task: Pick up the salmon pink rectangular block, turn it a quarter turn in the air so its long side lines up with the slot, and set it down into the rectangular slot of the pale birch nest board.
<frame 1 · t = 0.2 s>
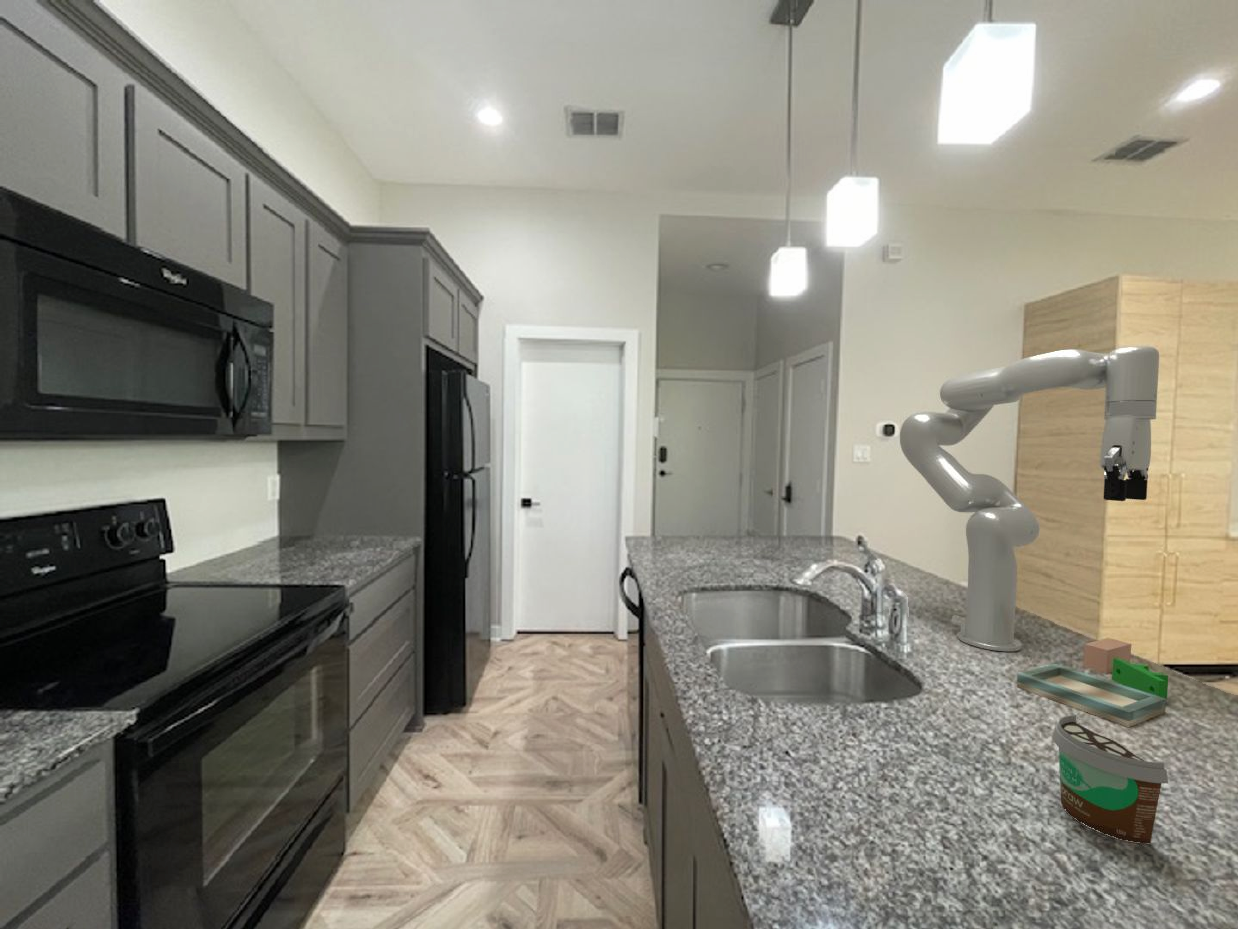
hand: (1125, 499, 111), 36 cm above the worktop, tool pointing down, fingers open, 9 cm apart
food container: (1088, 819, 69), on the worktop
nest board: (1087, 699, 104), on the worktop
pipe clamp: (1144, 694, 108), on the worktop
salmon pink rectangular block: (1106, 667, 120), on the worktop
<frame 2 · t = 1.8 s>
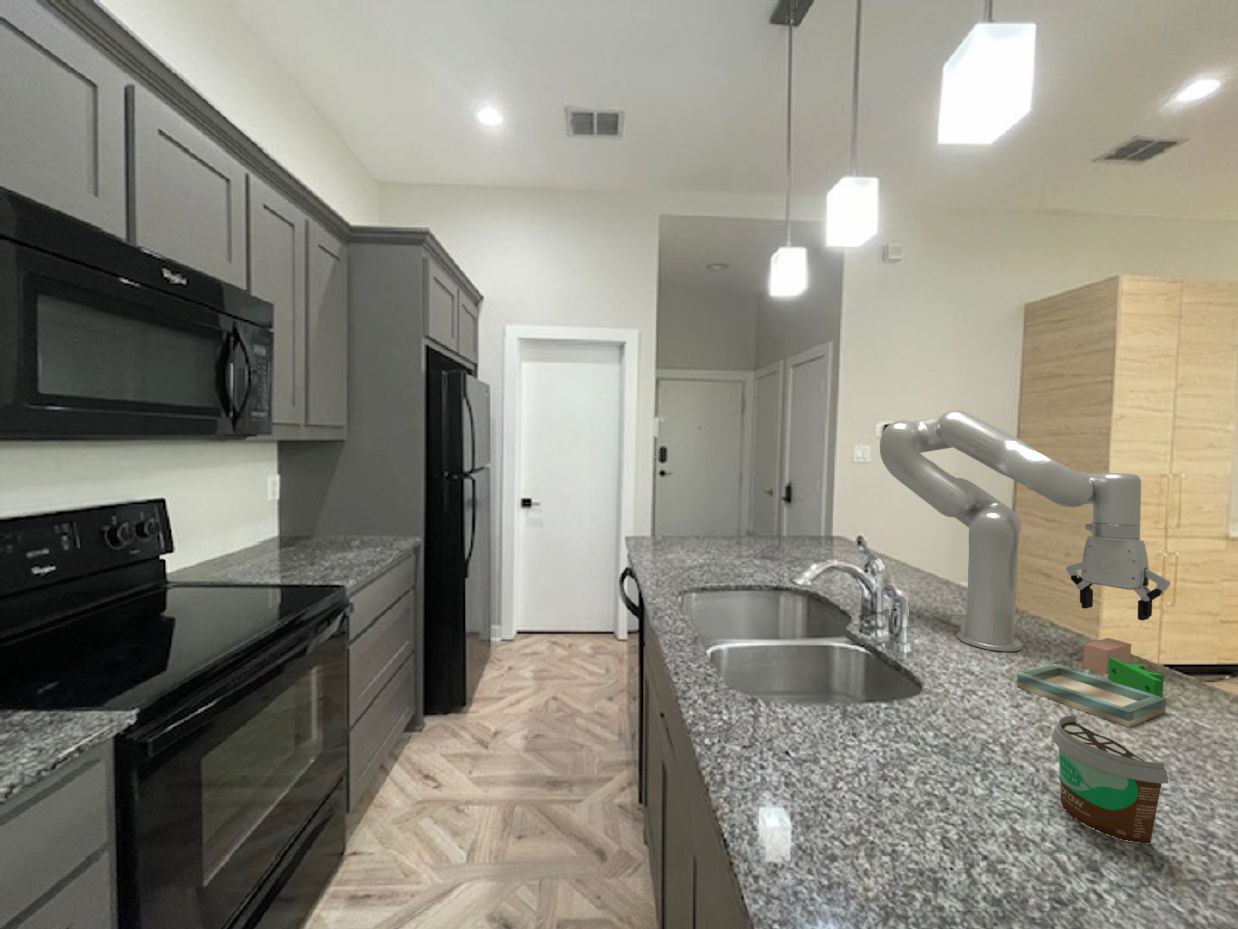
hand: (1114, 613, 120), 11 cm above the worktop, tool pointing down, fingers open, 9 cm apart
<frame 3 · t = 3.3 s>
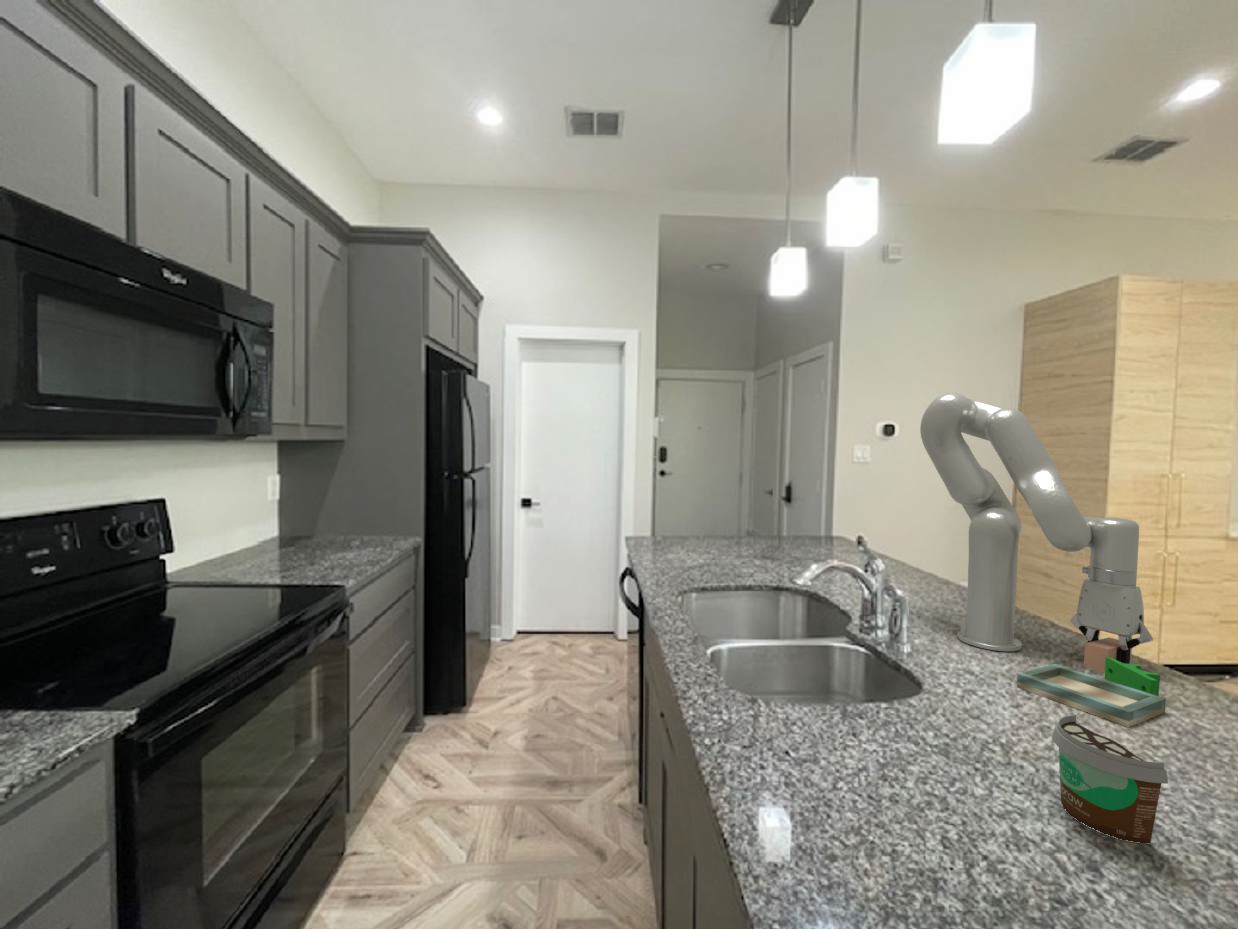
hand: (1107, 662, 120), 1 cm above the worktop, tool pointing down, fingers closed on salmon pink rectangular block, 4 cm apart
salmon pink rectangular block: (1107, 666, 120), on the worktop, touching gripper
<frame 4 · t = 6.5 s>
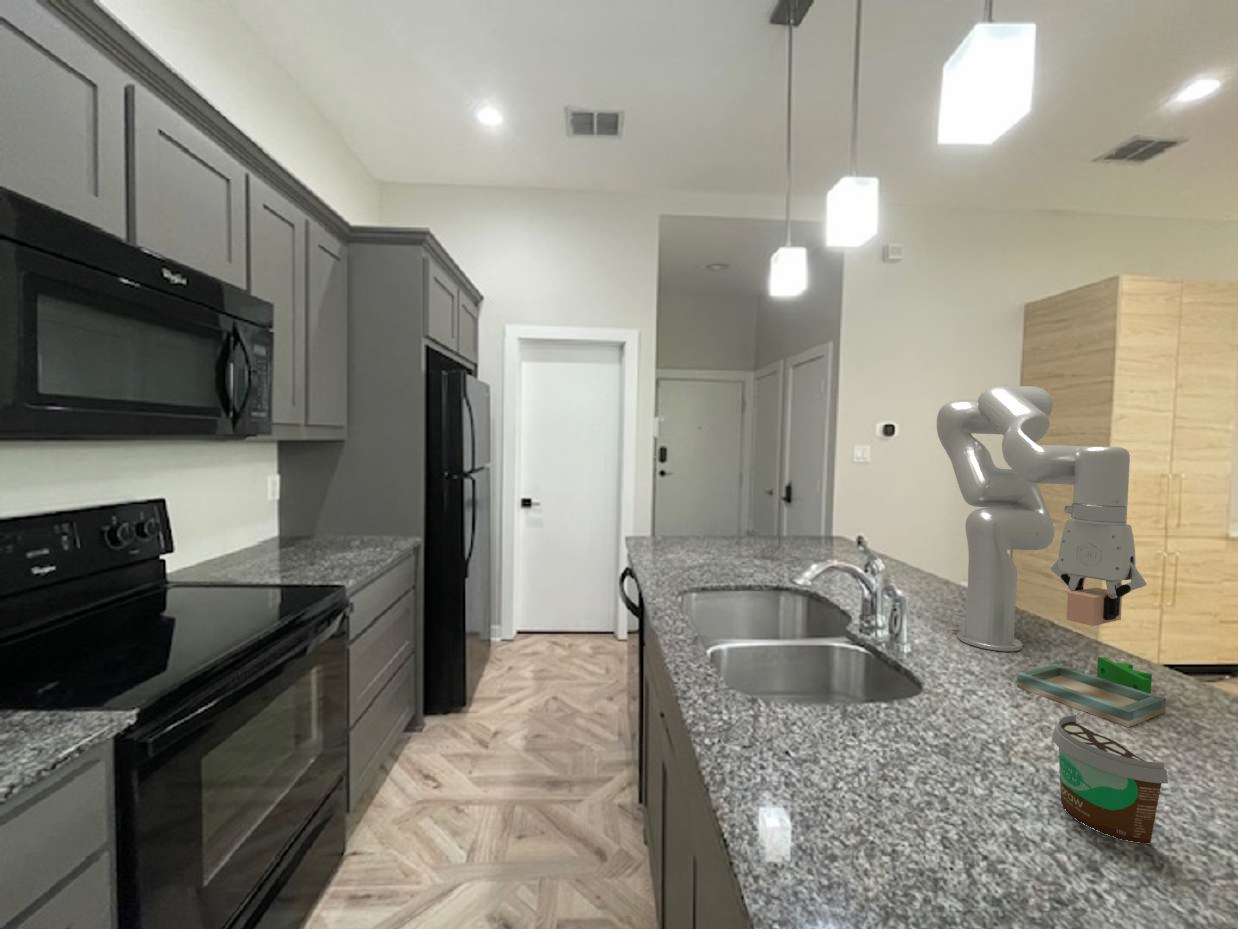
hand: (1094, 614, 103), 15 cm above the worktop, tool pointing down, fingers closed on salmon pink rectangular block, 4 cm apart
pipe clamp: (1128, 692, 108), on the worktop
salmon pink rectangular block: (1093, 619, 103), point 15 cm above the worktop, touching gripper
everything else where it was.
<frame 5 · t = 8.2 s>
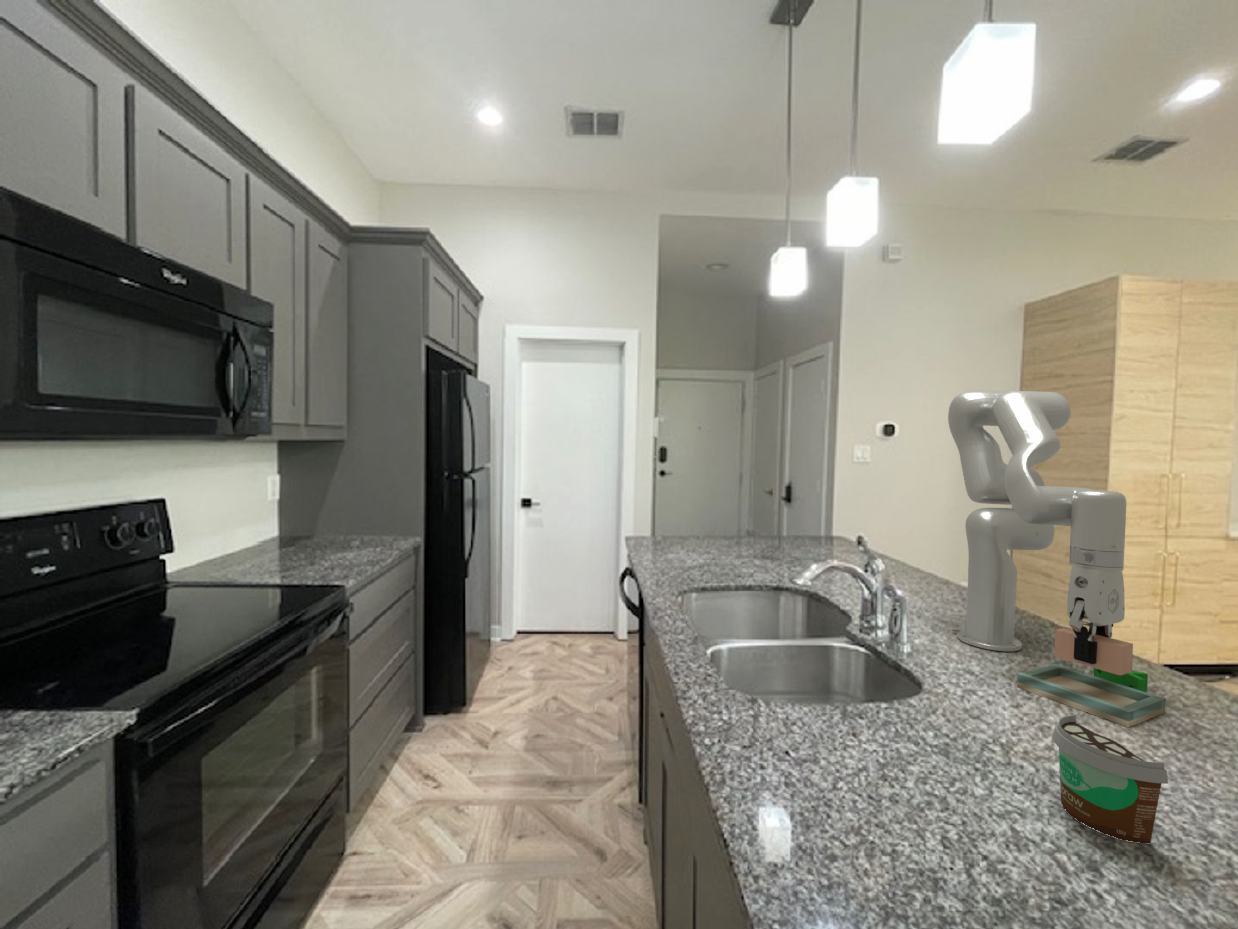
hand: (1091, 658, 103), 8 cm above the worktop, tool pointing down, fingers closed on salmon pink rectangular block, 4 cm apart
salmon pink rectangular block: (1091, 664, 103), point 7 cm above the worktop, touching gripper
when the fingers open (3 cm above the worktop, at t = 9.5 s): salmon pink rectangular block stays where it is, resting on nest board.
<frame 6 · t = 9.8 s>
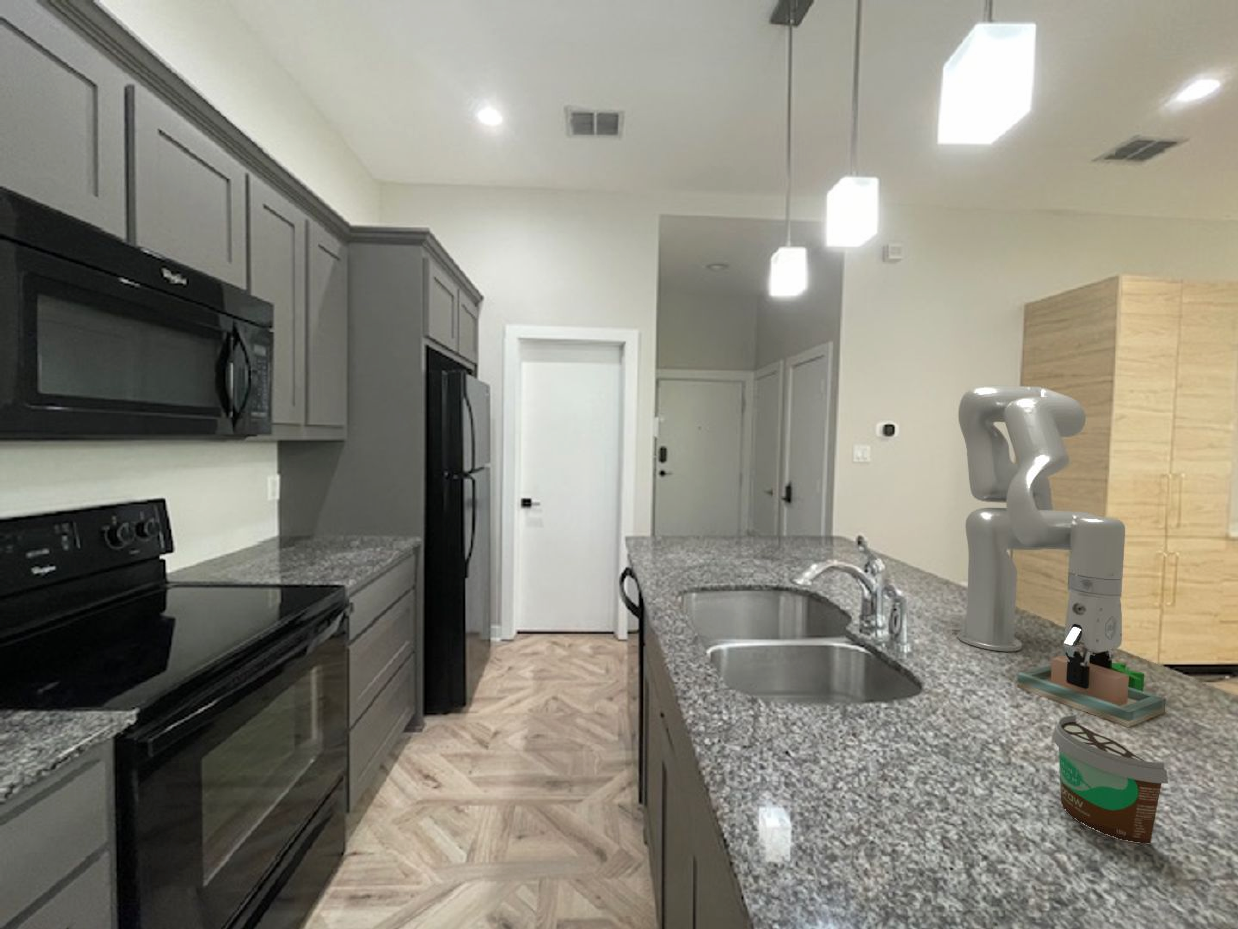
hand: (1088, 681, 104), 3 cm above the worktop, tool pointing down, fingers open, 7 cm apart
salmon pink rectangular block: (1087, 693, 104), point 1 cm above the worktop, touching nest board
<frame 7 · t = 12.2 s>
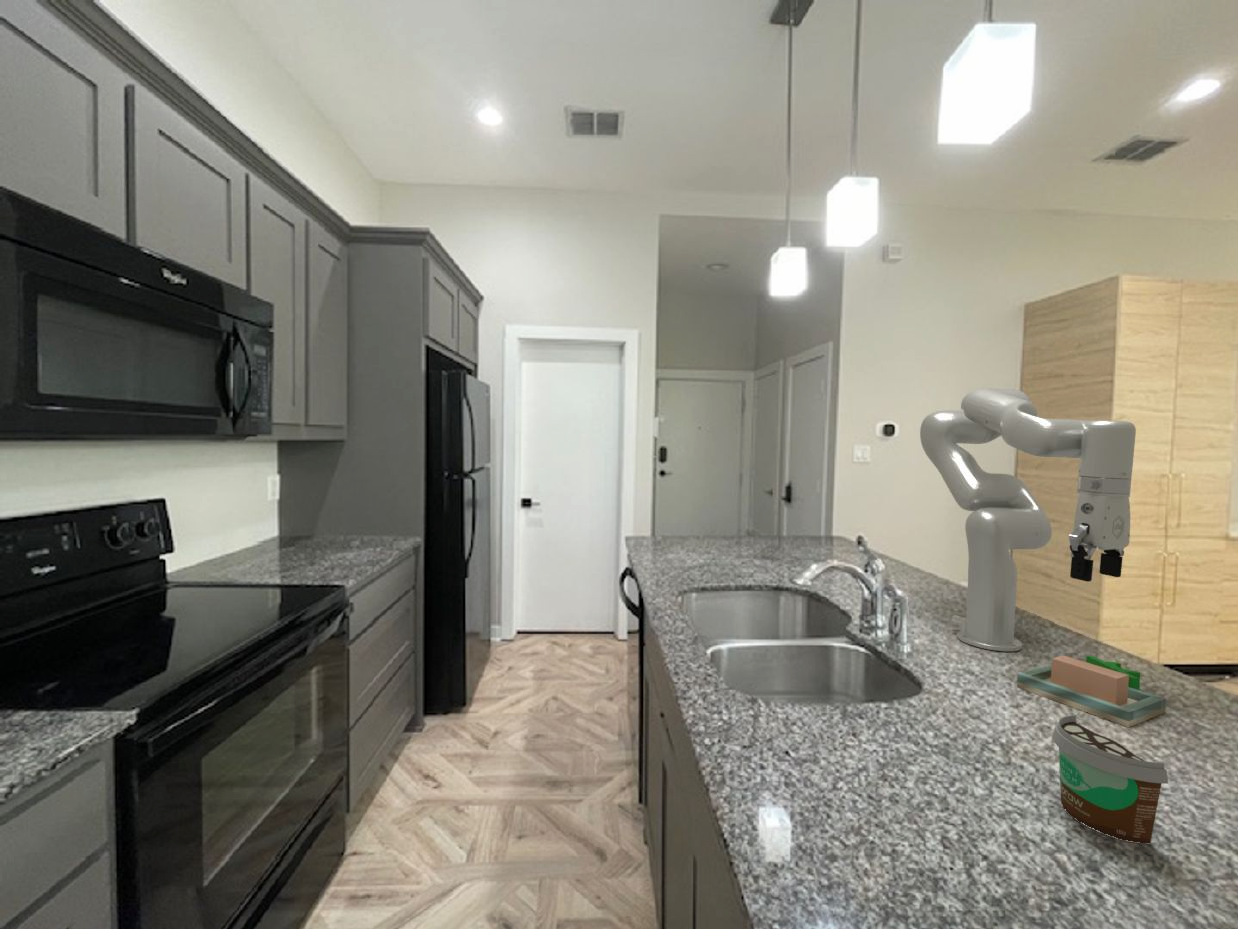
hand: (1095, 577, 107), 21 cm above the worktop, tool pointing down, fingers open, 9 cm apart
pipe clamp: (1116, 691, 109), on the worktop, touching nest board
everything else where it was.
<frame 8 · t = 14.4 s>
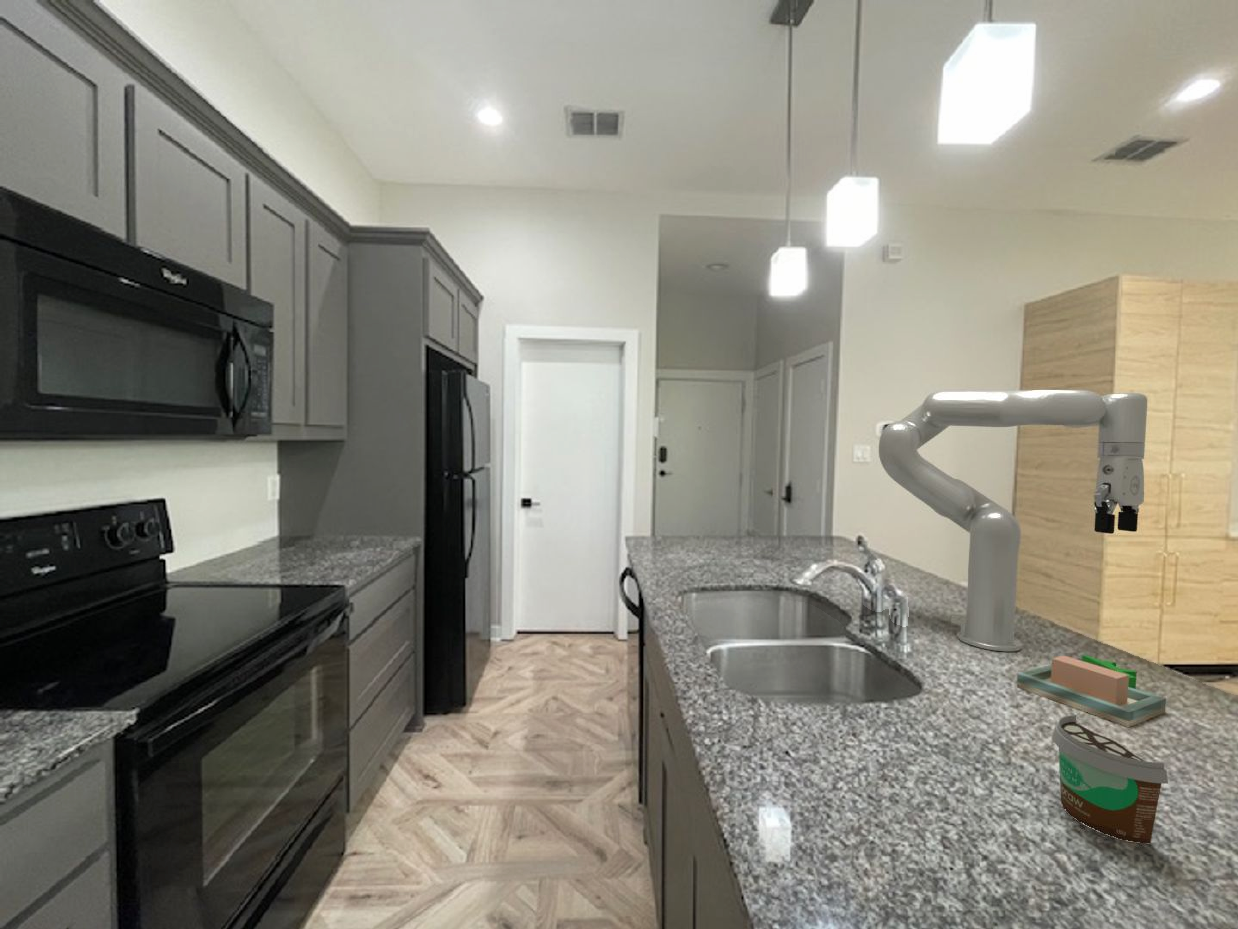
hand: (1115, 531, 122), 28 cm above the worktop, tool pointing down, fingers open, 9 cm apart
at the end: salmon pink rectangular block 0.1 cm off-centre on the nest board, point 1.0 cm above the nest board's base; salmon pink rectangular block tilted 0°; the gripper is holding nothing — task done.
